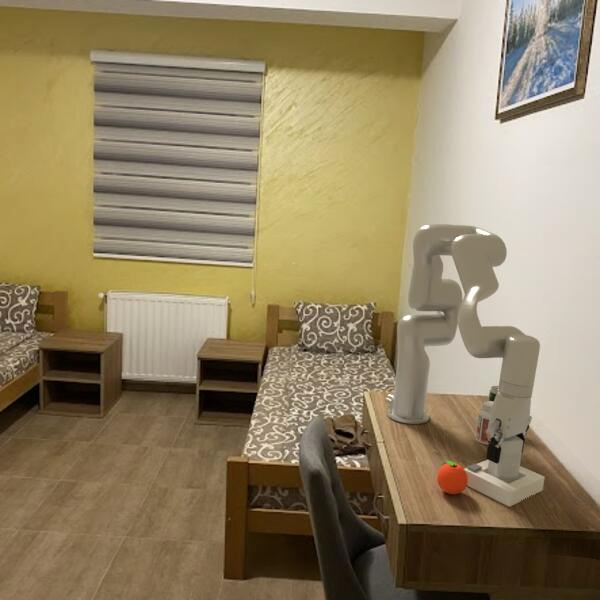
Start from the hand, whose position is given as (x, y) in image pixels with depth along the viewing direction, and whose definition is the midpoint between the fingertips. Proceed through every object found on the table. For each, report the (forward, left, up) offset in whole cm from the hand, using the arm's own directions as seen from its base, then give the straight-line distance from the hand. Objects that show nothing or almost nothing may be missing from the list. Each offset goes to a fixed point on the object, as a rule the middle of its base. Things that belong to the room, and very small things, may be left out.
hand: (504, 456), depth 149 cm
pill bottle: (-17, +20, -8) cm, 28 cm away
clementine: (-5, -13, -8) cm, 16 cm away
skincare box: (0, 0, -7) cm, 7 cm away
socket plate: (+1, 0, -8) cm, 8 cm away
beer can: (-22, +31, -8) cm, 39 cm away
